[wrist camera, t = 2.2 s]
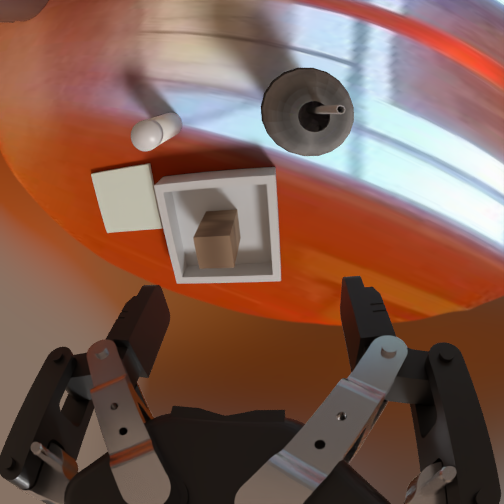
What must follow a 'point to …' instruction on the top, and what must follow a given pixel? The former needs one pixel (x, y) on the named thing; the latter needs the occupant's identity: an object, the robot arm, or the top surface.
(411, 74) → the top surface
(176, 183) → the grey tub
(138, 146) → the salt shaker
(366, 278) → the top surface
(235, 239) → the walnut block
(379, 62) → the top surface
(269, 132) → the beverage cup
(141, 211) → the sage coaster
